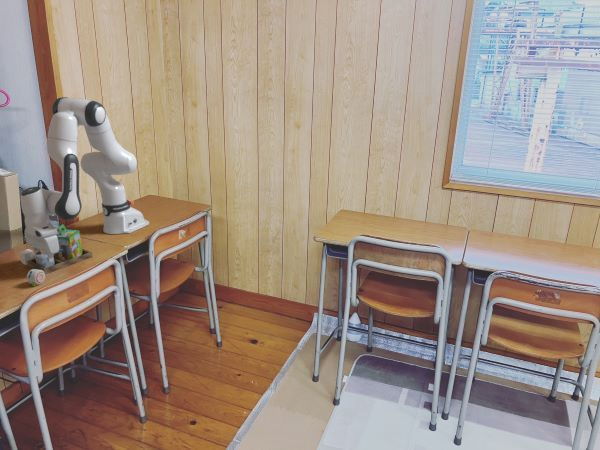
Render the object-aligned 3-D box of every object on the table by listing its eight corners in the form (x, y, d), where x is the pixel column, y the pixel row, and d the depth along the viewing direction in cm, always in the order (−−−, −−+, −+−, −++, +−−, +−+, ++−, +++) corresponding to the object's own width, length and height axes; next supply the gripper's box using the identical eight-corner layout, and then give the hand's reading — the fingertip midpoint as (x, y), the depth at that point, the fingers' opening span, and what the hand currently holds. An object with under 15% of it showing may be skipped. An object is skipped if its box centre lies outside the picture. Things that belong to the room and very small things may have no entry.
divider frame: (75, 249, 223) (74, 245, 222) (92, 257, 215) (91, 252, 215) (28, 265, 207) (27, 261, 206) (45, 274, 200) (44, 269, 199)
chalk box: (73, 262, 209) (67, 230, 204) (52, 262, 210) (46, 229, 205) (84, 253, 218) (79, 222, 213) (64, 253, 219) (58, 221, 213)
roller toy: (26, 286, 190) (23, 272, 188) (38, 279, 196) (35, 265, 194) (36, 287, 189) (33, 274, 187) (47, 280, 195) (45, 267, 193)
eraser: (31, 259, 213) (28, 248, 212) (35, 261, 211) (33, 251, 209) (21, 262, 210) (19, 251, 209) (26, 265, 208) (23, 254, 206)
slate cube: (37, 267, 206) (35, 256, 204) (49, 263, 210) (47, 252, 208) (43, 270, 203) (41, 259, 201) (55, 266, 207) (53, 255, 205)
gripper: (17, 224, 204) (24, 255, 209) (43, 235, 192) (50, 267, 197) (33, 220, 209) (39, 250, 213) (59, 230, 197) (65, 262, 202)
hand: (44, 258), depth 205 cm, fingers open, 8 cm apart
